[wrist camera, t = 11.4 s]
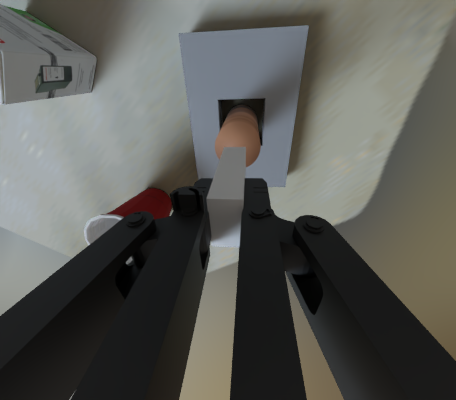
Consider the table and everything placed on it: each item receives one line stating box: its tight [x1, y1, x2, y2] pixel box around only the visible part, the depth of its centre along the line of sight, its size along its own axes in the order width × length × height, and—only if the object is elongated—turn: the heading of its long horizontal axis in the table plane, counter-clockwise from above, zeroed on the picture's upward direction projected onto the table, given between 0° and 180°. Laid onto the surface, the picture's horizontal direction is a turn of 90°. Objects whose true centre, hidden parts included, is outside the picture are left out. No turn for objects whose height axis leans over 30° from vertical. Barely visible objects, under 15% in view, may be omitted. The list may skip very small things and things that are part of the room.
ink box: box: [0, 5, 97, 105], centre depth 20 cm, size 9×5×12 cm, turn 58°
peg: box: [215, 104, 261, 167], centre depth 22 cm, size 4×4×12 cm
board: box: [179, 25, 309, 187], centre depth 26 cm, size 18×13×3 cm
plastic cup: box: [84, 188, 172, 264], centre depth 31 cm, size 11×11×12 cm
